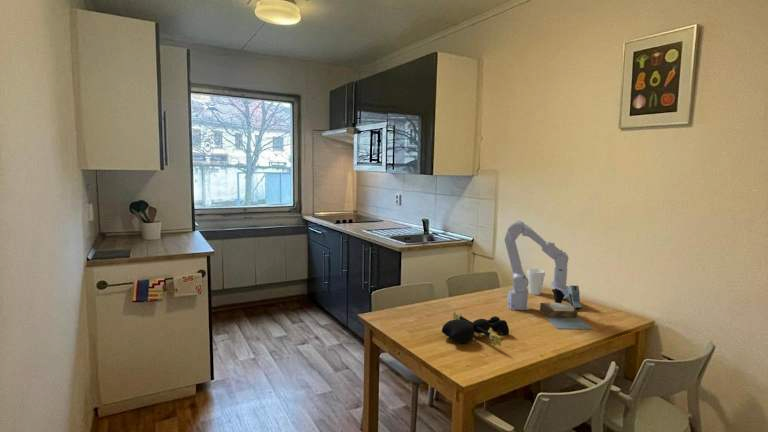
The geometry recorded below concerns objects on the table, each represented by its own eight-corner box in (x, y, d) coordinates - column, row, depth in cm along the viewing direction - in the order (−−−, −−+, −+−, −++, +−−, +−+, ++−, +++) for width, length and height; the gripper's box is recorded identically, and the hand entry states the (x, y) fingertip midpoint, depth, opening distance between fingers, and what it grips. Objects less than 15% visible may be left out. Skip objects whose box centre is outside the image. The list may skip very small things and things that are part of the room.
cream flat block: (554, 310, 203) (555, 306, 203) (549, 306, 209) (550, 302, 209) (573, 311, 203) (574, 307, 203) (568, 306, 209) (568, 302, 209)
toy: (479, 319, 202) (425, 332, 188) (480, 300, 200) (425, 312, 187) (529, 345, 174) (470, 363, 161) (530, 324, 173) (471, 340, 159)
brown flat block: (547, 317, 205) (548, 309, 204) (539, 310, 215) (540, 302, 214) (576, 318, 205) (577, 310, 205) (567, 311, 215) (568, 303, 214)
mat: (557, 328, 191) (557, 328, 191) (546, 318, 204) (546, 317, 204) (593, 329, 192) (593, 328, 192) (579, 318, 205) (579, 318, 205)
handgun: (567, 311, 233) (565, 289, 236) (582, 308, 215) (579, 284, 219) (560, 311, 233) (558, 289, 236) (574, 308, 215) (572, 284, 219)
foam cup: (525, 289, 249) (527, 268, 248) (542, 291, 247) (544, 269, 245) (526, 294, 240) (528, 272, 239) (544, 296, 238) (545, 273, 236)
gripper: (575, 281, 201) (573, 309, 203) (562, 273, 215) (560, 299, 217) (560, 281, 201) (558, 309, 203) (548, 273, 215) (546, 299, 217)
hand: (558, 304), depth 210 cm, fingers closed
